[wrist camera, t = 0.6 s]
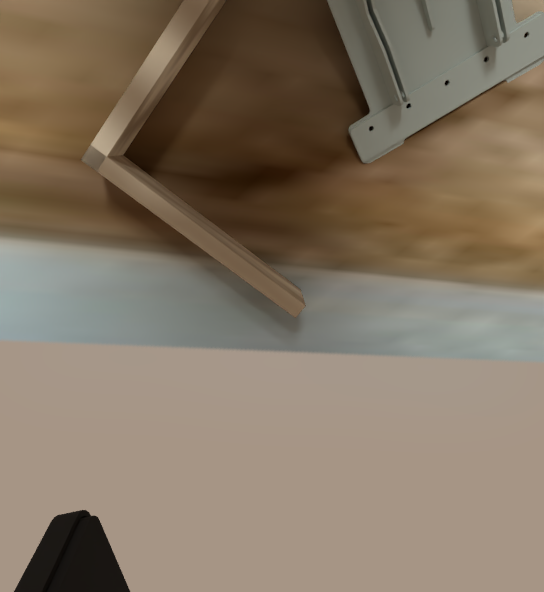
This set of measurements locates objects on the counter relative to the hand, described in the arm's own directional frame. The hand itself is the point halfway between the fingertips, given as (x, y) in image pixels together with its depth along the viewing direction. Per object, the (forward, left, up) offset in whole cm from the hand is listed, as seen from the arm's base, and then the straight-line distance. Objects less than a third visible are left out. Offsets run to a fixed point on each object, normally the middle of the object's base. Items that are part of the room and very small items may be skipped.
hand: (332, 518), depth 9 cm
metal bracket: (-18, -1, -29) cm, 34 cm away
